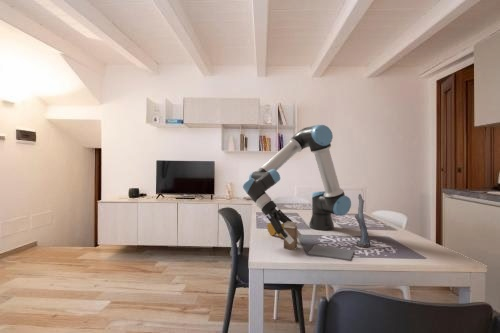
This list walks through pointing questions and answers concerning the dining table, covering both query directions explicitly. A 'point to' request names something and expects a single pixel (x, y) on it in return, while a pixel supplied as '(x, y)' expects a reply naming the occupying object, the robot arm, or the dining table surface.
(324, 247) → the charcoal rubber mat
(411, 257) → the dining table surface
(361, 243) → the antler
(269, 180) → the robot arm
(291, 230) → the walnut block
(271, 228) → the decorative fish
